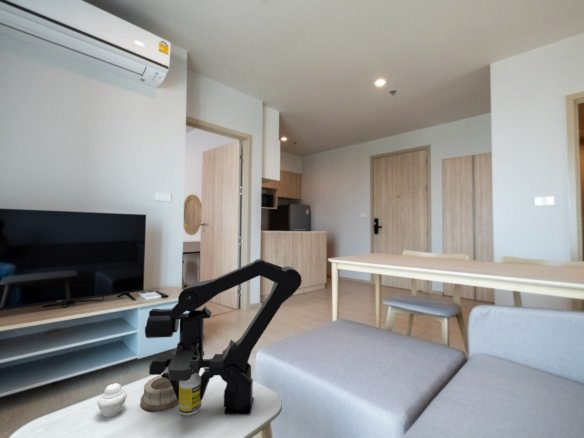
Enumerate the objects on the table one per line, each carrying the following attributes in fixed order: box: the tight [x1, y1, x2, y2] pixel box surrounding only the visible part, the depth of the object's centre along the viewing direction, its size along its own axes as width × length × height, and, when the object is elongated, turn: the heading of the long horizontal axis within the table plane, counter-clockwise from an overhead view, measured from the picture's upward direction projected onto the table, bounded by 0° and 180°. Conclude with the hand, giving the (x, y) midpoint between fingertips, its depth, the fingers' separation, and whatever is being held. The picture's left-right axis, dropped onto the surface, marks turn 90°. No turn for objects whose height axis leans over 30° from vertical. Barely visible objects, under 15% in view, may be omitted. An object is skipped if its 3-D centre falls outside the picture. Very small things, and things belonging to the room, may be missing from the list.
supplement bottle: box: [178, 372, 203, 416], centre depth 69 cm, size 5×5×10 cm
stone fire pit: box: [140, 374, 179, 413], centre depth 74 cm, size 11×11×4 cm
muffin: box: [96, 382, 128, 418], centre depth 68 cm, size 6×6×7 cm
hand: (190, 398), depth 69 cm, fingers closed on supplement bottle, 5 cm apart
